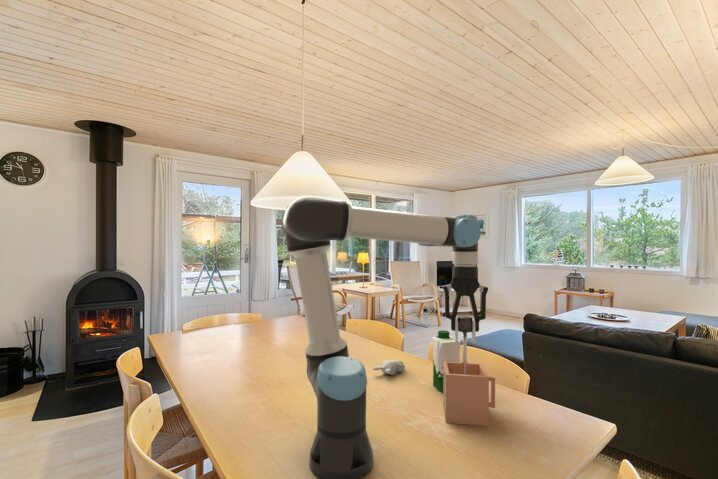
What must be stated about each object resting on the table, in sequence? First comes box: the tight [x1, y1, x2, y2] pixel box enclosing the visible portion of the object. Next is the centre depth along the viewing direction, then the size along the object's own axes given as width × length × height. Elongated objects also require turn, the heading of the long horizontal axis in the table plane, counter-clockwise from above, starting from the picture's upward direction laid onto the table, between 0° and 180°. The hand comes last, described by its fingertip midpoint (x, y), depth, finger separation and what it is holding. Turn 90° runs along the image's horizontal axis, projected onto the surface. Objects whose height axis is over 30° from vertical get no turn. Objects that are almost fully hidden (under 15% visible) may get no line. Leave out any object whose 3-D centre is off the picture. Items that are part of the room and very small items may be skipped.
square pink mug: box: [442, 361, 496, 427], centre depth 110 cm, size 12×15×14 cm
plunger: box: [456, 315, 473, 375], centre depth 110 cm, size 9×9×22 cm
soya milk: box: [431, 330, 463, 394], centre depth 130 cm, size 9×9×20 cm
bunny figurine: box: [372, 359, 406, 377], centre depth 145 cm, size 10×5×15 cm
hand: (464, 341), depth 110 cm, fingers closed on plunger, 4 cm apart
